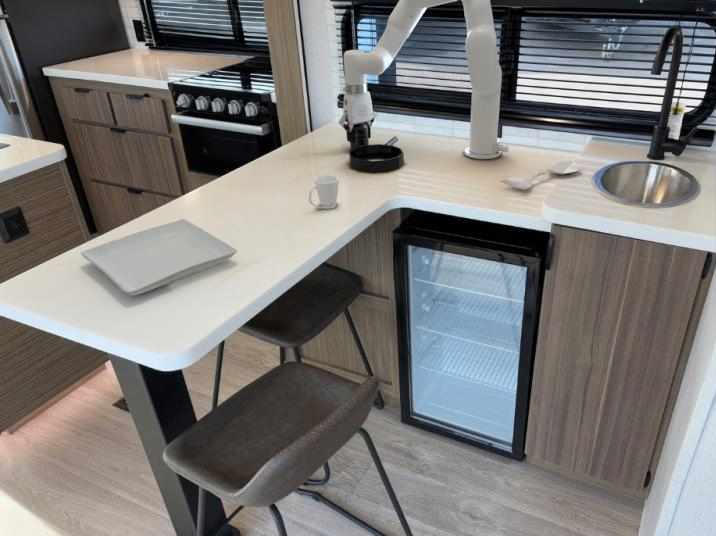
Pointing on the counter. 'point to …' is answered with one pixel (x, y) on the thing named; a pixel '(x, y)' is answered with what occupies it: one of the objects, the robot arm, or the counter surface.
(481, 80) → the robot arm
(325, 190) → the cup
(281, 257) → the counter surface
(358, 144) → the supplement bottle
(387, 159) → the pan
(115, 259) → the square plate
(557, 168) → the spoon
